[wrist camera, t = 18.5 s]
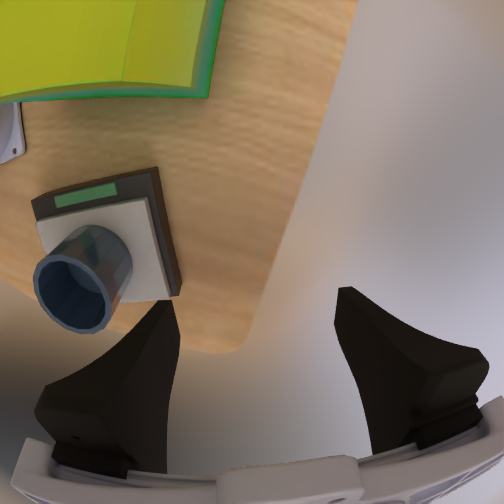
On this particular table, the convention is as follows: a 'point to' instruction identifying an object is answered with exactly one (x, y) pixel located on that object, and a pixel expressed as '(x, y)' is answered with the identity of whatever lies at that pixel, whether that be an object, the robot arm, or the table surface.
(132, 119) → the table surface
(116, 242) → the cup
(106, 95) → the apple
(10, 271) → the table surface
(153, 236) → the scale
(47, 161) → the table surface
